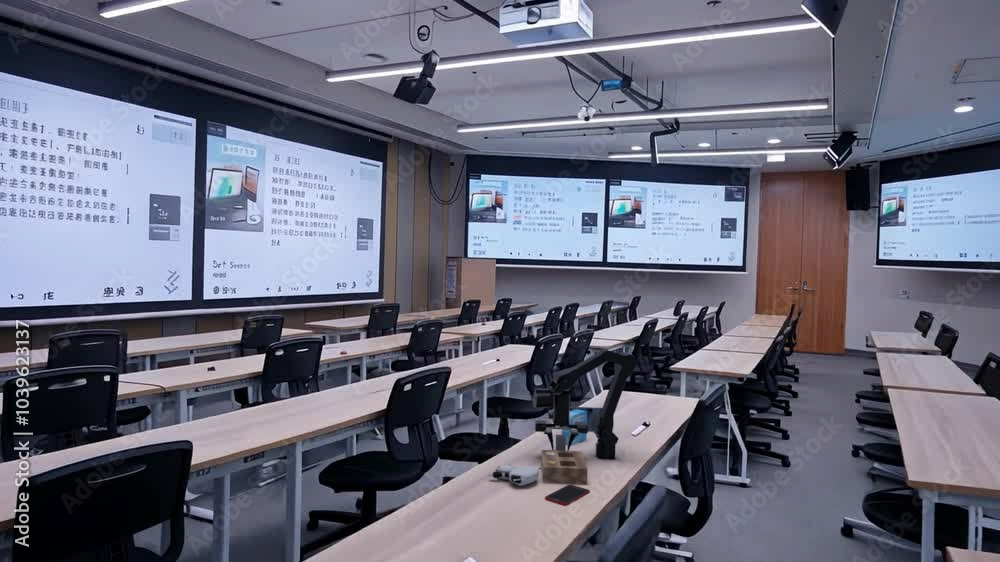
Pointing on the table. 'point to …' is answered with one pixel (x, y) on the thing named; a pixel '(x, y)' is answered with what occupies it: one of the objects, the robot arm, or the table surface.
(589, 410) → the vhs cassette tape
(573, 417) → the data package
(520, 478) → the robot toy
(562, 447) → the plug
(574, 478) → the socket box
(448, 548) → the table surface
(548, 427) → the robot arm
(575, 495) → the cell phone
